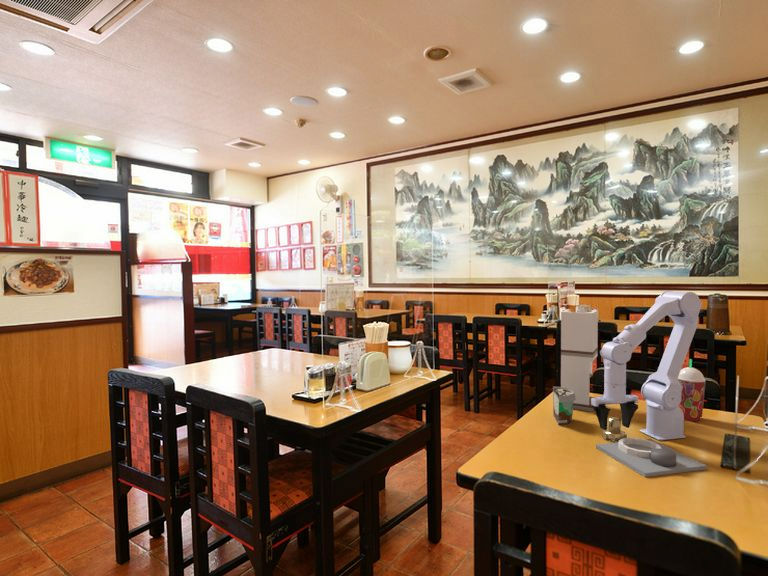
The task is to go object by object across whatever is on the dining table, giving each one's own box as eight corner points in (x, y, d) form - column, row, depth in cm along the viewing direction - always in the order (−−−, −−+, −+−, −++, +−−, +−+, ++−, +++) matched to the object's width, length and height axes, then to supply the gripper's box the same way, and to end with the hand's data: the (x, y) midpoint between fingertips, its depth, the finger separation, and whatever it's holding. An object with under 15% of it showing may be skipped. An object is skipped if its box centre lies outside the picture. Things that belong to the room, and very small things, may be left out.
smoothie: (704, 416, 151) (705, 358, 150) (705, 424, 144) (707, 363, 143) (674, 412, 155) (675, 355, 155) (674, 420, 148) (675, 360, 148)
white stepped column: (592, 411, 158) (593, 313, 157) (560, 406, 164) (561, 311, 163) (597, 402, 168) (597, 310, 166) (567, 398, 174) (567, 309, 172)
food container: (579, 427, 143) (579, 396, 142) (559, 426, 144) (559, 396, 143) (571, 415, 155) (571, 386, 154) (552, 414, 156) (552, 386, 156)
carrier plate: (650, 442, 130) (650, 430, 130) (706, 469, 113) (706, 455, 113) (596, 448, 127) (596, 435, 127) (645, 477, 109) (645, 463, 109)
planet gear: (616, 433, 138) (616, 414, 137) (631, 441, 131) (632, 421, 131) (597, 435, 136) (597, 416, 136) (612, 443, 130) (612, 423, 130)
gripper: (626, 377, 138) (625, 421, 139) (584, 381, 135) (584, 425, 136) (643, 383, 131) (643, 429, 132) (600, 387, 128) (600, 433, 129)
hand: (614, 427), depth 134 cm, fingers open, 7 cm apart
